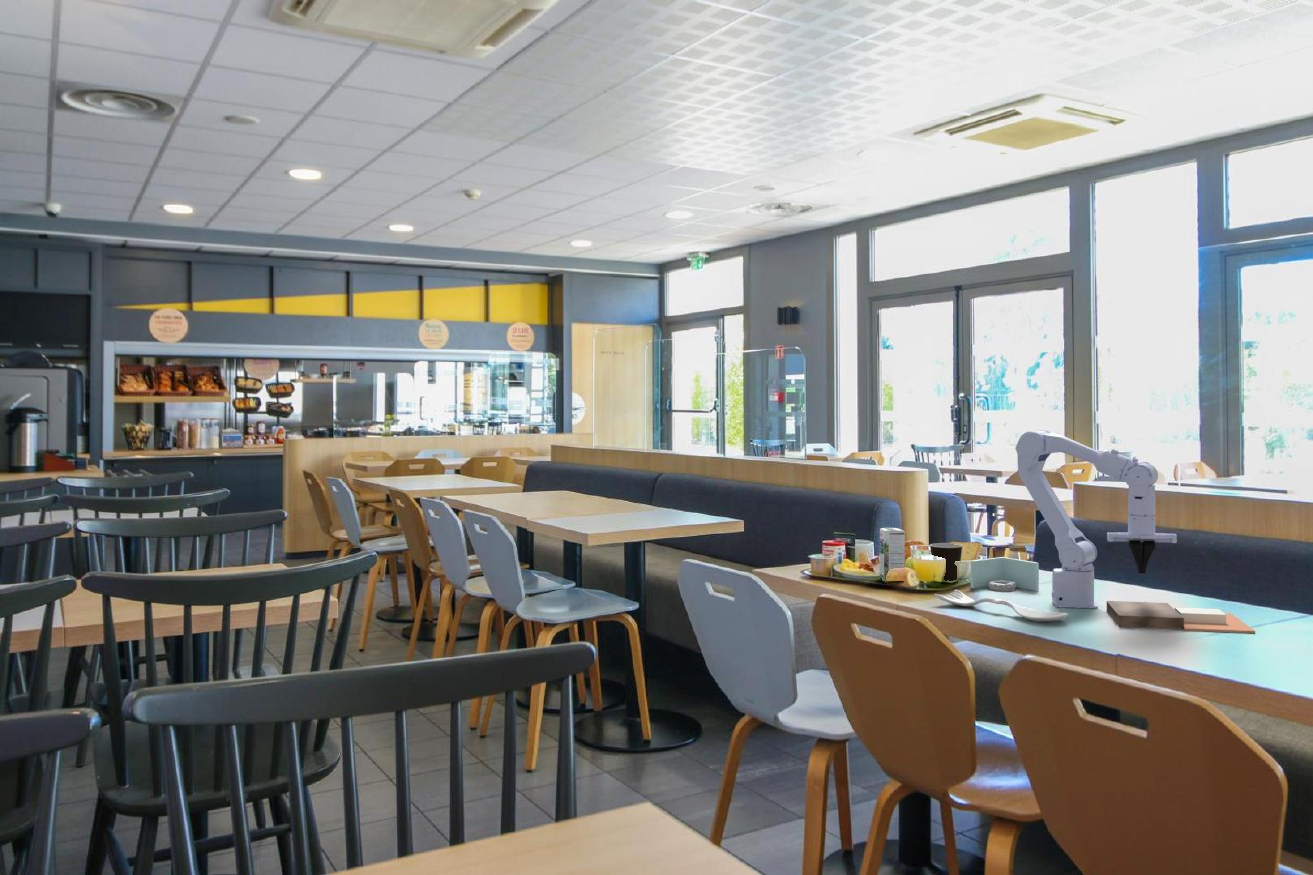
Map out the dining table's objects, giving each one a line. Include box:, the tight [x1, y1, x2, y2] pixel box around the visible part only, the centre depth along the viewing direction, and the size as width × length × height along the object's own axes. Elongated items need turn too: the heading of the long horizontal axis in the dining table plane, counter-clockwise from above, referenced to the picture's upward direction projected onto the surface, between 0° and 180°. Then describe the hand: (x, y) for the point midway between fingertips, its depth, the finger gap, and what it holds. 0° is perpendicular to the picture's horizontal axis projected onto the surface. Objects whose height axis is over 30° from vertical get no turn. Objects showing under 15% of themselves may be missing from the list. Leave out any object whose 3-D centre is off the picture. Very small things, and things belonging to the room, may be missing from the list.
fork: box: [934, 589, 1069, 623], centre depth 234 cm, size 9×32×4 cm, turn 38°
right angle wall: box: [970, 556, 1040, 592], centre depth 263 cm, size 12×12×8 cm
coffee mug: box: [929, 542, 963, 581], centre depth 276 cm, size 12×9×10 cm
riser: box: [1106, 600, 1184, 630], centre depth 225 cm, size 13×16×2 cm
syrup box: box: [878, 527, 906, 583], centre depth 277 cm, size 6×6×14 cm
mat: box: [1183, 612, 1256, 634], centre depth 221 cm, size 14×18×1 cm
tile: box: [1174, 607, 1226, 624], centre depth 222 cm, size 9×6×2 cm, turn 74°
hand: (1141, 572), depth 232 cm, fingers closed
